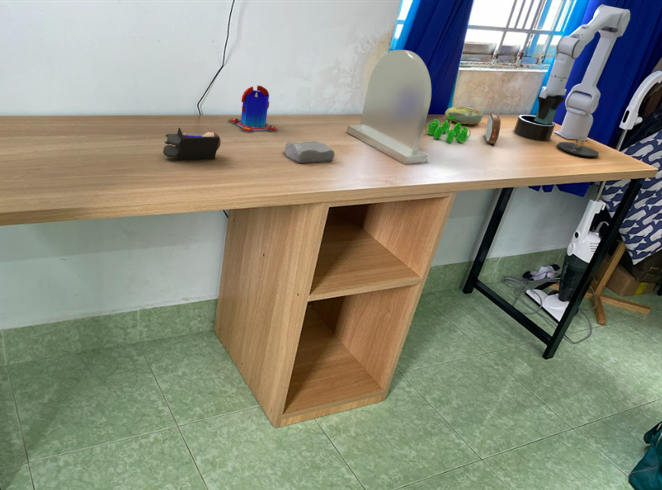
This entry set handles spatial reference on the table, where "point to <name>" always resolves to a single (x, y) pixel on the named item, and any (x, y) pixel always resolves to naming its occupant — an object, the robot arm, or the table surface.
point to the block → (548, 117)
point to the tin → (492, 128)
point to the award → (396, 107)
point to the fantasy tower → (254, 110)
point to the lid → (578, 148)
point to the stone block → (309, 152)
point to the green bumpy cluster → (438, 130)
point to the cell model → (464, 115)
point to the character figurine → (192, 146)
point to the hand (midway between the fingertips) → (544, 117)
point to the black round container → (533, 128)
